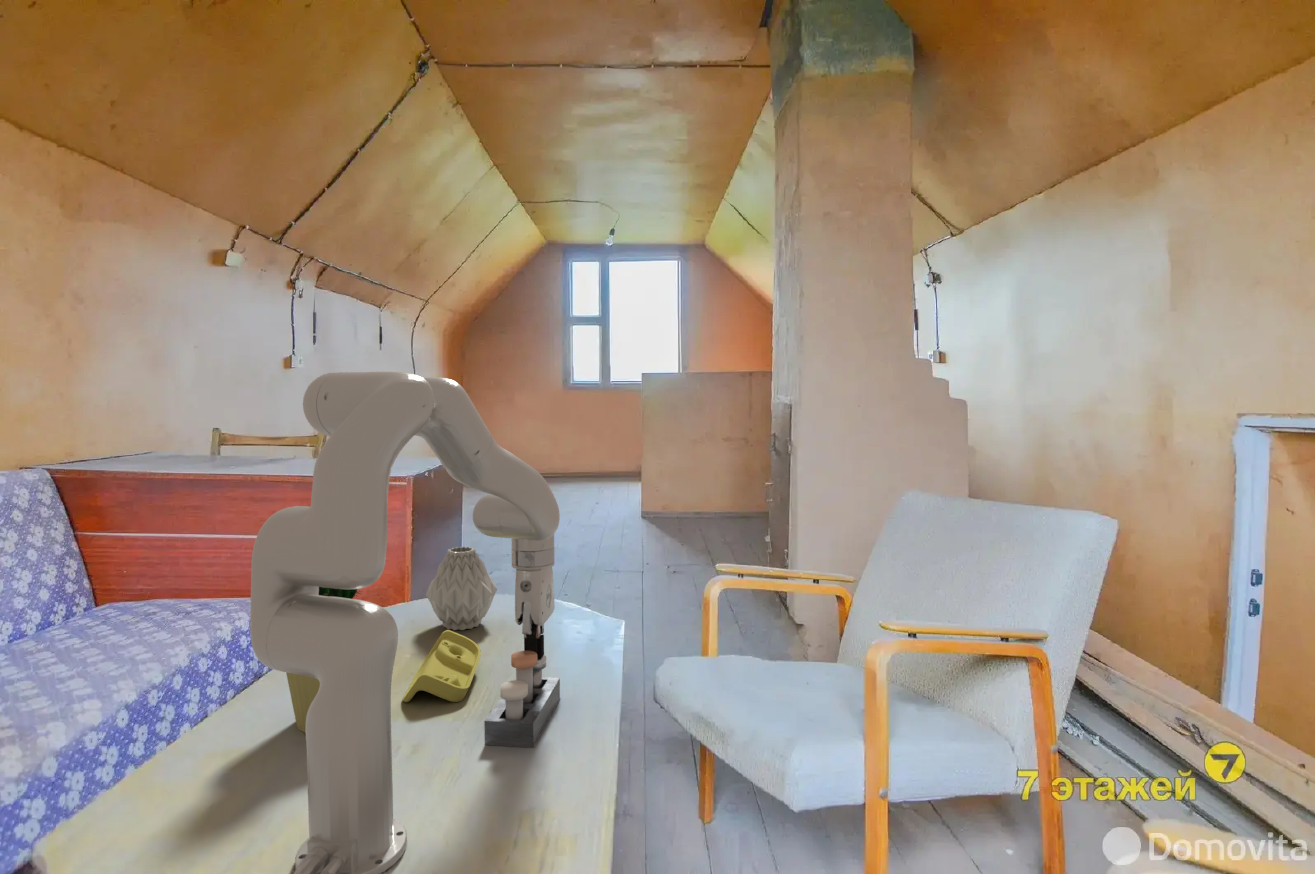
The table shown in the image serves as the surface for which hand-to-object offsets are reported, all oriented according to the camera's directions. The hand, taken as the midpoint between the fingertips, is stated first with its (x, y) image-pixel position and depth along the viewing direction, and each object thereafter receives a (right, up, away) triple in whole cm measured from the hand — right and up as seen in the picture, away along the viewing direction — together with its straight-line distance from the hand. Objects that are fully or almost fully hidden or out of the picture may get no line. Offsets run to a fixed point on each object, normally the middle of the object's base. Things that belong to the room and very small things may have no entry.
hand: (534, 657), depth 130 cm
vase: (-25, -6, +44) cm, 51 cm away
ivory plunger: (-1, -9, -11) cm, 15 cm away
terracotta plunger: (-1, -6, -6) cm, 8 cm away
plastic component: (-18, -9, +10) cm, 23 cm away
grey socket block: (-1, -9, -6) cm, 11 cm away
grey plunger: (0, -9, 0) cm, 9 cm away
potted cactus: (-34, -9, -5) cm, 35 cm away
